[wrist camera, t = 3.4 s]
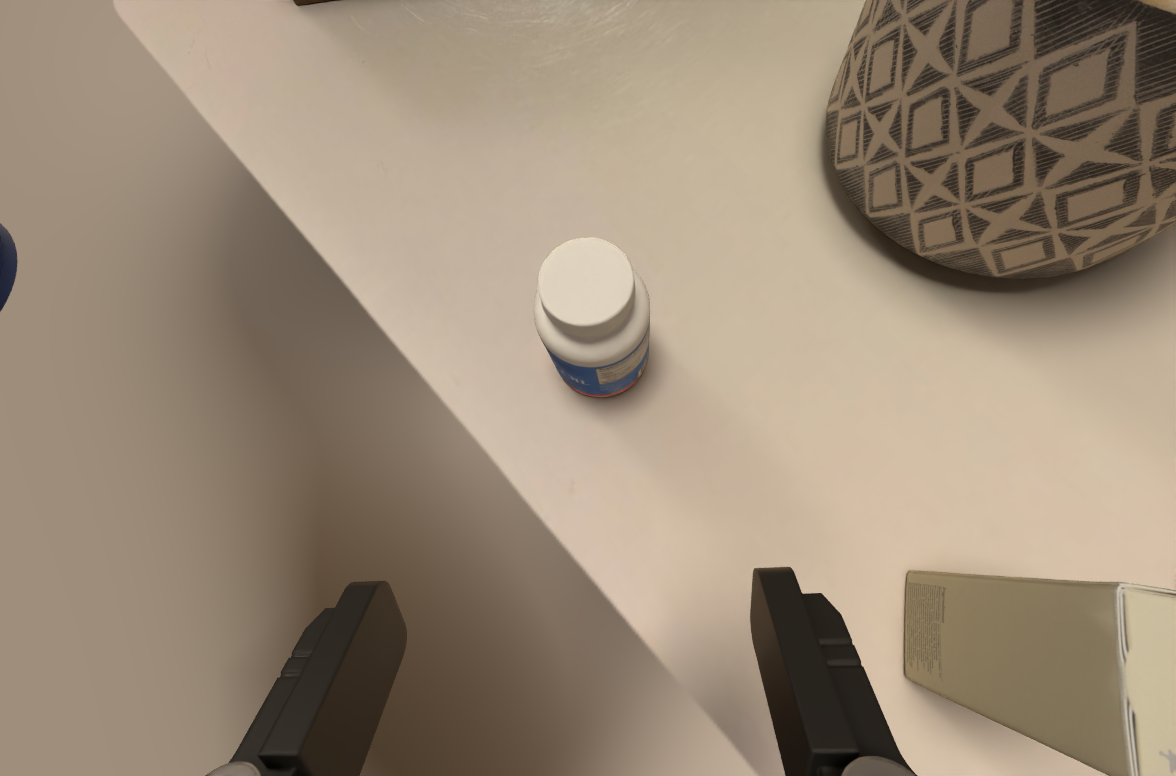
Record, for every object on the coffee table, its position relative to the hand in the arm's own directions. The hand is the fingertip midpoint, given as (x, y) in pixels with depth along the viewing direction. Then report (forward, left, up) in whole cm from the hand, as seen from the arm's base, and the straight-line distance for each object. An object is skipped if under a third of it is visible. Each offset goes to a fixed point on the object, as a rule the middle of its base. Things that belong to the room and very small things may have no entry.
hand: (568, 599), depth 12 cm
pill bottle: (0, +12, -17) cm, 21 cm away
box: (+16, -3, -17) cm, 24 cm away
